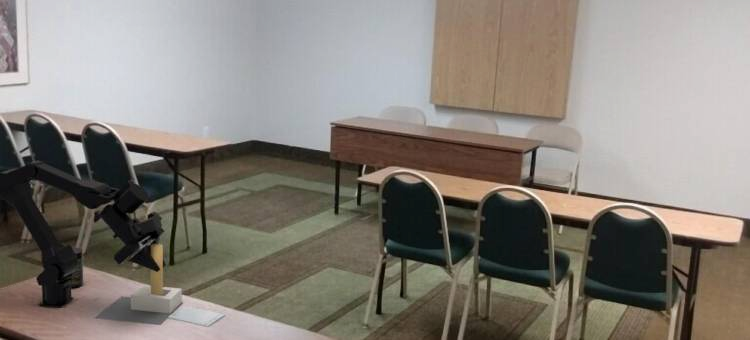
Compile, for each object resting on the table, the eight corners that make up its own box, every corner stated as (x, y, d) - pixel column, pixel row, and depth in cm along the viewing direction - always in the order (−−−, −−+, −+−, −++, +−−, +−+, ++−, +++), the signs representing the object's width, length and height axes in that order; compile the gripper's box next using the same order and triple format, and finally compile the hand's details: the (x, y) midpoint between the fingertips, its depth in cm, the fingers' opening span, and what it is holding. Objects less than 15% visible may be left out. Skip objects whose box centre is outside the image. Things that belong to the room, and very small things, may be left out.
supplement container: (88, 284, 214) (87, 250, 212) (68, 291, 209) (67, 256, 207) (74, 279, 218) (73, 245, 216) (53, 285, 212) (52, 251, 210)
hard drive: (167, 316, 193) (208, 325, 189) (185, 305, 200) (225, 313, 196) (167, 322, 193) (208, 331, 189) (185, 311, 201) (225, 319, 197)
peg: (148, 293, 193) (148, 246, 190) (153, 289, 196) (153, 243, 193) (159, 295, 193) (159, 247, 190) (164, 291, 196) (164, 244, 193)
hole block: (130, 309, 197) (130, 295, 196) (143, 298, 205) (143, 284, 204) (170, 313, 196) (170, 299, 195) (181, 302, 204) (181, 288, 203)
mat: (94, 319, 191) (94, 317, 191) (121, 297, 206) (121, 296, 206) (160, 326, 189) (160, 324, 189) (183, 304, 204) (183, 302, 204)
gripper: (125, 214, 181) (167, 261, 182) (157, 196, 199) (196, 239, 200) (95, 241, 184) (137, 288, 184) (130, 221, 202) (168, 264, 203)
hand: (161, 268), depth 193 cm, fingers closed on peg, 3 cm apart
